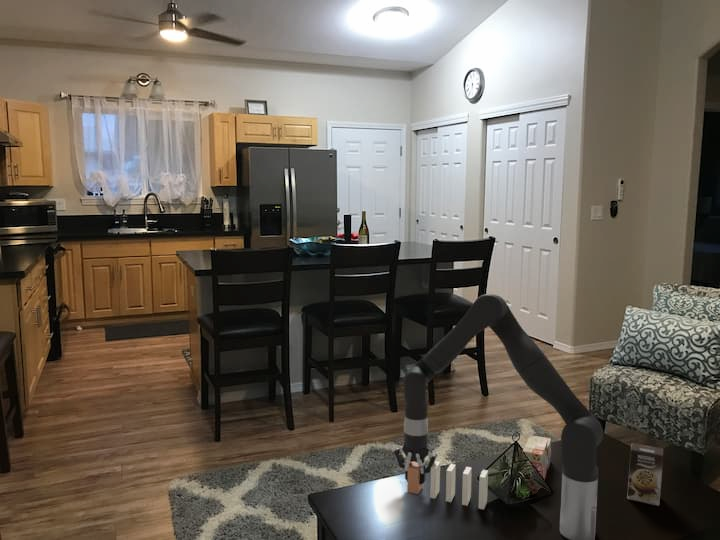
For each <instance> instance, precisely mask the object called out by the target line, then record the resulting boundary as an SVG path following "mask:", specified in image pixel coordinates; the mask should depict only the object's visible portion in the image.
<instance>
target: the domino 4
mask: <svg viewBox="0 0 720 540" xmlns="http://www.w3.org/2000/svg"><path fill="white" fill-rule="evenodd" d="M461 489H462V491H461V492H462V493H461V497H462V498H461V505H462V506H465V505H466V506H465V507H468V505H469V503H470V501H471V499H472V467H470V466H466V467H465V469H464V470H463V472H462V487H461ZM470 498H471V499H470Z"/></svg>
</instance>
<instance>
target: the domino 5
mask: <svg viewBox="0 0 720 540" xmlns="http://www.w3.org/2000/svg"><path fill="white" fill-rule="evenodd" d="M478 482H479V485H478V509H480V510H485V508H486V506H487V503H488V490H489V488H488V486H489V485H488V483H489V470H487V469H482V471H481V473H480V475H479V481H478Z"/></svg>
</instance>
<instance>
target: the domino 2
mask: <svg viewBox="0 0 720 540" xmlns="http://www.w3.org/2000/svg"><path fill="white" fill-rule="evenodd" d="M440 483H441V461H439V460H435V462H434V464H433V465H432V467H431V471H430V486H429V487H430V490H429V498H430V499H435V500H436V498H437V496H438V495H439V493H440V488H441V486H440V485H441V484H440Z"/></svg>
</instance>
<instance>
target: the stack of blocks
mask: <svg viewBox="0 0 720 540" xmlns="http://www.w3.org/2000/svg"><path fill="white" fill-rule="evenodd" d="M523 452H524V453H525V455H526V456H527V457H528V459H529V460H530V461H531V462H532V464H533V465H534V466H535V467H536V469H537V470H538V471H539V473H540V474H541V476H543V478H544V480H545V479H546V475H547V471H548V470H549V468H550V464H551V457H552V438H550V437H544V436H537V435H532V436H529V437H528V439H527V442H526V443H525V446H524V448H523V449H522V453H523Z"/></svg>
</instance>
